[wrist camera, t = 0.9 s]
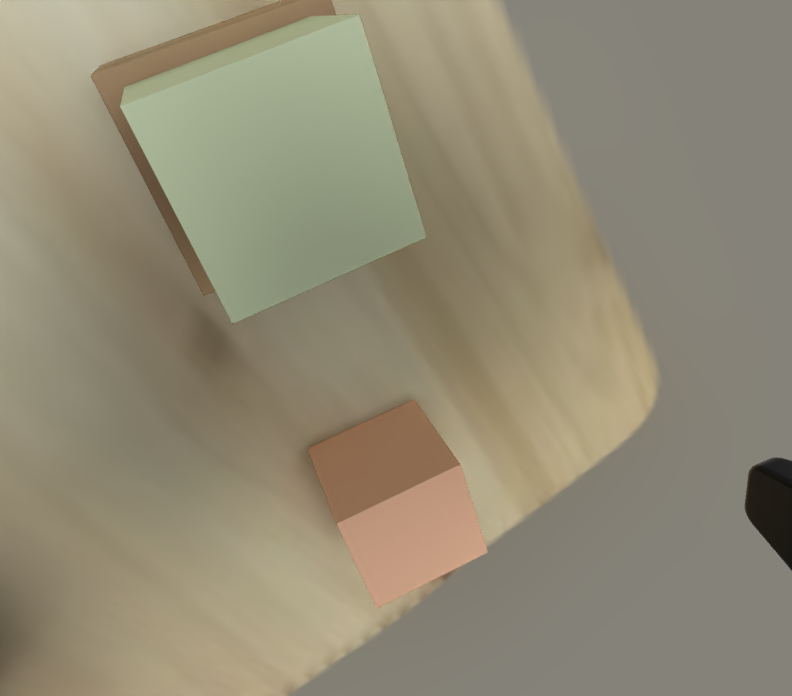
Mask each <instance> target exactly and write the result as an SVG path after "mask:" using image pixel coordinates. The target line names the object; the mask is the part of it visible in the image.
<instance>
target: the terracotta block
mask: <svg viewBox="0 0 792 696" xmlns="http://www.w3.org/2000/svg"><path fill="white" fill-rule="evenodd" d="M308 451H309V454H310V456H311V459H312V461H313V464H314V467H315V469H316V472H317V475H318V477H319V480H320V482H321V485H322V488H323V490H324V493H325V496H326V498H327V501H328V503H329V506H330V509H331V511H332V514H333V516H334V519H335V522H336V524H337V526H338V528H339V531H340V533H341V535H342V537H343V539H344V541H345V543H346V545H347V547H348V549H349V551H350V553H351V556H352V558H353V560H354V562H355V564H356V566H357V568H358V570H359V572H360V574H361V576H362V578H363V581H364V583H365V585H366V587H367V589H368V591H369V593H370V595H371V597H372V599H373V601H374V603H375V606H376V608H379V607H381V606H383V605H385V604H387V603H388V602H390V601H392V600H394V599H396V598H398V597H400V596H402V595H404V594H406V593H408V592H410V591H412V590H414V589H416V588H418V587H420V586H422V585H424V584H426V583H428V582H430V581H432V580H434V579H436V578H438V577H440V576H442V575H444V574H446V573H448V572H450V571H452V570H454V569H456V568H458V567H460V566H462V565H463V564H465V563H467V562H469V561H471V560H473V559H475V558H477V557H479V556H481V555H483V554H485V553H487V552H488V551H487V548H486V545H485V542H484V539H483V535H482V532H481V529H480V526H479V523H478V519H477V516H476V513H475V510H474V507H473V503H472V500H471V497H470V494H469V491H468V487H467V484H466V481H465V478H464V475H463V471H462V468H461V465H460V463H459V462H458V460H457V459H456V458H455V456H454V455H453V453H452V452H451V451H450V449H449V448H448V446H447V445H446V444H445V442H444V441H443V439H442V438H441V437H440V435H439V434H438V432H437V431H436V430H435V428H434V427H433V425H432V424H431V423H430V421H429V420H428V418H427V417H426V416H425V414H424V413H423V411H422V410H421V409H420V407H419V406H418V404H417V403H416V402H415V400H412V401H409V402H407V403H405V404H403V405H401V406H398V407H396V408H394V409H392V410H390V411H388V412H385V413H383V414H381V415H379V416H377V417H375V418H372V419H370V420H368V421H366V422H364V423H361V424H359V425H357V426H355V427H353V428H351V429H348V430H346V431H344V432H342V433H340V434H338V435H335V436H333V437H331V438H329V439H327V440H324V441H322V442H320V443H318V444H316V445H314V446H311V447H309V448H308Z"/></svg>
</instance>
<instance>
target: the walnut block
mask: <svg viewBox="0 0 792 696" xmlns="http://www.w3.org/2000/svg"><path fill="white" fill-rule="evenodd" d="M330 15H336V14H335V10H334V7H333V4H332V1H331V0H282V1H279V2H277V3H274V4H271V5H268V6H265V7H263V8H260V9H257V10H254V11H251V12H249V13H246V14H243V15H240V16H238V17H235V18H232V19H229V20H226V21H224V22H221V23H218V24H215V25H212V26H210V27H207V28H204V29H201V30H198V31H196V32H193V33H190V34H187V35H185V36H182V37H179V38H176V39H173V40H171V41H168V42H165V43H162V44H159V45H157V46H154V47H151V48H148V49H145V50H143V51H140V52H137V53H134V54H132V55H129V56H126V57H123V58H120V59H118V60H115V61H112V62H109V63H106V64H104V65H101V66H99V67H98V68H97V70H96V71H95V72H94V73H93V74H92V75H91V78H92V79H93V81H94V83H95V85H96V87H97V89H98V91H99V93H100V95H101V97H102V99H103V101H104V103H105V105H106V107H107V109H108V111H109V113H110V114H111V116H112V118H113V120H114V122H115V124H116V126H117V128H118V130H119V132H120V134H121V136H122V138H123V140H124V142H125V144H126V146H127V148H128V149H129V151H130V153H131V155H132V157H133V159H134V161H135V163H136V165H137V167H138V169H139V171H140V173H141V175H142V177H143V179H144V181H145V183H146V184H147V186H148V188H149V190H150V192H151V194H152V196H153V198H154V200H155V202H156V204H157V206H158V208H159V210H160V212H161V214H162V216H163V218H164V219H165V221H166V223H167V225H168V227H169V229H170V231H171V233H172V235H173V237H174V239H175V241H176V243H177V245H178V247H179V249H180V251H181V253H182V254H183V256H184V258H185V260H186V262H187V264H188V266H189V268H190V270H191V272H192V274H193V276H194V278H195V280H196V282H197V284H198V286H199V288H200V289H201V291H202V293H203V295H204V296H205V295H208V294H210V293H213V292H215V289H214V287H213V285H212V283H211V281H210V280H209V278H208V276H207V274H206V272H205V270H204V268H203V266H202V264H201V262H200V260H199V258H198V256H197V254H196V252H195V250H194V249H193V247H192V245H191V243H190V241H189V239H188V237H187V235H186V233H185V231H184V229H183V227H182V225H181V223H180V221H179V220H178V218H177V216H176V214H175V212H174V210H173V208H172V206H171V204H170V202H169V200H168V198H167V196H166V194H165V192H164V191H163V189H162V187H161V185H160V183H159V181H158V179H157V177H156V175H155V173H154V171H153V169H152V167H151V165H150V163H149V162H148V160H147V158H146V156H145V154H144V152H143V150H142V148H141V146H140V144H139V142H138V140H137V138H136V136H135V134H134V133H133V131H132V129H131V127H130V125H129V123H128V121H127V119H126V117H125V115H124V113H123V111H122V109H121V107H120V105H121V100H122V95H123V91H124V87H125V86H128V85H131V84H133V83H136V82H139V81H141V80H144V79H146V78H149V77H152V76H154V75H157V74H160V73H162V72H165V71H167V70H170V69H173V68H175V67H178V66H181V65H183V64H186V63H189V62H191V61H194V60H196V59H199V58H202V57H204V56H207V55H210V54H212V53H215V52H217V51H220V50H223V49H225V48H228V47H231V46H233V45H236V44H238V43H241V42H244V41H246V40H249V39H252V38H254V37H257V36H259V35H262V34H265V33H267V32H270V31H273V30H275V29H278V28H280V27H283V26H286V25H288V24H291V23H294V22H296V21H299V20H302V19H304V18H307V17H309V16H330Z"/></svg>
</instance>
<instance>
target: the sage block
mask: <svg viewBox="0 0 792 696" xmlns="http://www.w3.org/2000/svg"><path fill="white" fill-rule="evenodd" d="M120 107H121V109H122V111H123V113H124V115H125V117H126V119H127V121H128V123H129V125H130V127H131V129H132V131H133V133H134V134H135V136H136V138H137V140H138V142H139V144H140V146H141V148H142V150H143V152H144V154H145V156H146V158H147V160H148V162H149V163H150V165H151V167H152V169H153V171H154V173H155V175H156V177H157V179H158V181H159V183H160V185H161V187H162V189H163V191H164V192H165V194H166V196H167V198H168V200H169V202H170V204H171V206H172V208H173V210H174V212H175V214H176V216H177V218H178V220H179V221H180V223H181V225H182V227H183V229H184V231H185V233H186V235H187V237H188V239H189V241H190V243H191V245H192V247H193V249H194V250H195V252H196V254H197V256H198V258H199V260H200V262H201V264H202V266H203V268H204V270H205V272H206V274H207V276H208V278H209V280H210V281H211V283H212V285H213V287H214V289H215V291H216V293H217V295H218V297H219V299H220V301H221V303H222V305H223V307H224V309H225V310H226V312H227V314H228V316H229V318H230V320H231V322H232V324H234V323H236V322H238V321H240V320H243V319H245V318H247V317H249V316H252V315H254V314H256V313H258V312H261V311H263V310H265V309H267V308H270V307H272V306H274V305H276V304H279V303H281V302H283V301H285V300H287V299H290V298H292V297H294V296H296V295H299V294H301V293H303V292H305V291H308V290H310V289H312V288H314V287H317V286H319V285H321V284H323V283H326V282H328V281H330V280H332V279H335V278H337V277H339V276H341V275H343V274H346V273H348V272H350V271H352V270H355V269H357V268H359V267H361V266H364V265H366V264H368V263H370V262H373V261H375V260H377V259H379V258H382V257H384V256H386V255H388V254H391V253H393V252H395V251H397V250H399V249H402V248H404V247H406V246H408V245H411V244H413V243H415V242H417V241H420V240H422V239H424V238H426V233H425V230H424V227H423V223H422V220H421V217H420V214H419V210H418V207H417V204H416V200H415V197H414V194H413V190H412V187H411V184H410V181H409V177H408V174H407V171H406V167H405V164H404V161H403V157H402V154H401V151H400V147H399V144H398V141H397V138H396V134H395V131H394V128H393V124H392V121H391V118H390V114H389V111H388V108H387V105H386V101H385V98H384V95H383V91H382V88H381V85H380V81H379V78H378V75H377V71H376V68H375V65H374V62H373V58H372V55H371V52H370V48H369V45H368V42H367V38H366V35H365V32H364V29H363V25H362V22H361V19H360V15H330V16H309V17H307V18H304V19H302V20H299V21H296V22H294V23H291V24H288V25H286V26H283V27H280V28H278V29H275V30H273V31H270V32H267V33H265V34H262V35H259V36H257V37H254V38H252V39H249V40H246V41H244V42H241V43H238V44H236V45H233V46H231V47H228V48H225V49H223V50H220V51H217V52H215V53H212V54H210V55H207V56H204V57H202V58H199V59H196V60H194V61H191V62H189V63H186V64H183V65H181V66H178V67H175V68H173V69H170V70H167V71H165V72H162V73H160V74H157V75H154V76H152V77H149V78H146V79H144V80H141V81H139V82H136V83H133V84H131V85H128V86H125V87H124V91H123V95H122V100H121V105H120Z"/></svg>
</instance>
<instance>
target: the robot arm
mask: <svg viewBox="0 0 792 696" xmlns="http://www.w3.org/2000/svg"><path fill="white" fill-rule="evenodd" d="M745 511H746V514H747V516H748V518H749V520H750V521H751V522H752V524H753V525H754V526H755V528H756V529H757V530H758V531H759V532H760V534H761V535H762V536H763V537H764V538H765V539H766V540H767V542H768V543H769V544H770V545H771V547H772V548H773V549H774V550H775V551H776V552H777V553H778V555H779V556H780V557H781V558H782V559H783V560H784V562H785V563H786V564H787V565H788V567H789V568H790V569H791V570H792V461H790V460H787V459H783V458H771V459H768V460H766V461H763V462H761V463H759V464H756V465H754V466H753V467H752V468H751V469H750V471H749V474H748V482H747V490H746V499H745Z"/></svg>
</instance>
